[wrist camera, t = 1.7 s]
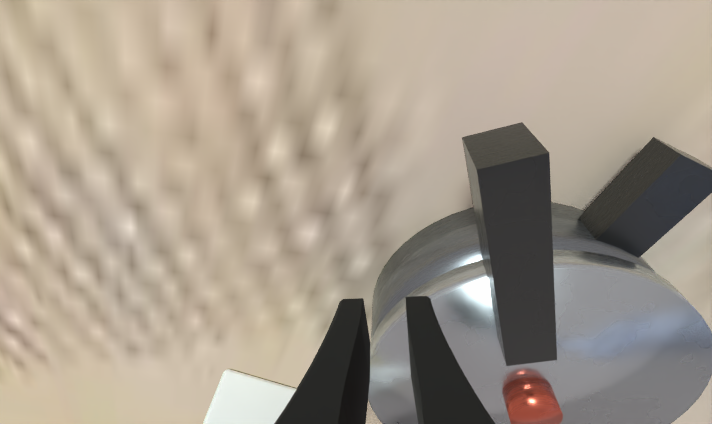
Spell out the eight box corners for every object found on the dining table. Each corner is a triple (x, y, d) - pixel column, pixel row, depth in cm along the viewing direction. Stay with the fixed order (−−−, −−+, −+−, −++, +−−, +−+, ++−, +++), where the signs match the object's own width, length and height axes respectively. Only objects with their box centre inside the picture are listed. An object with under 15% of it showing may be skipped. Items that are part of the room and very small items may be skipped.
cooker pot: (527, 406, 29) (545, 463, 26) (335, 343, 27) (328, 398, 23) (788, 202, 18) (877, 253, 15) (510, 64, 16) (544, 90, 13)
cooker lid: (673, 435, 23) (705, 487, 20) (404, 456, 26) (406, 502, 24) (770, 57, 11) (866, 79, 9) (275, 182, 15) (256, 220, 13)
